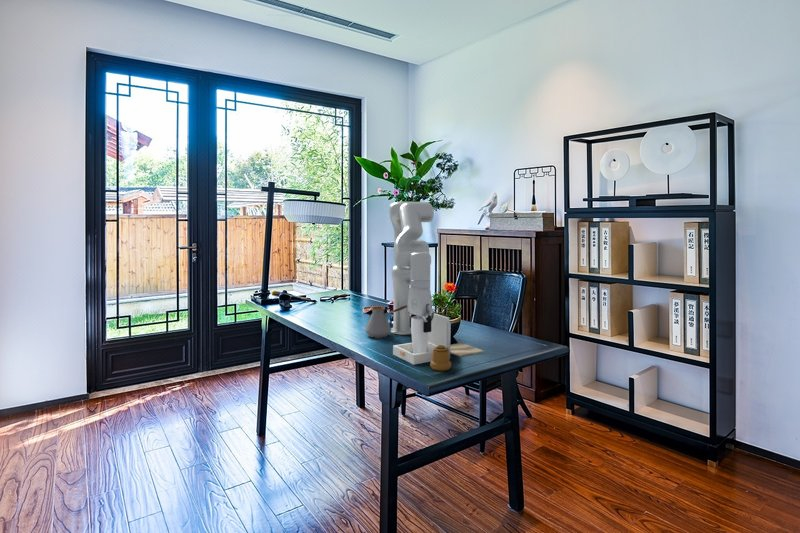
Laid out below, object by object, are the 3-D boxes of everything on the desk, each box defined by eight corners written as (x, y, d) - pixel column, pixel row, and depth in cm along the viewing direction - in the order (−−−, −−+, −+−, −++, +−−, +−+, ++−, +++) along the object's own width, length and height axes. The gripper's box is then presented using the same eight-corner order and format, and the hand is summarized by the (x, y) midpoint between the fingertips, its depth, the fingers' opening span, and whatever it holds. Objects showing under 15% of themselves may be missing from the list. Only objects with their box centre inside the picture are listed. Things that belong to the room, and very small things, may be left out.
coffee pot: (363, 339, 207) (363, 305, 206) (367, 332, 218) (367, 300, 217) (412, 340, 205) (412, 306, 204) (413, 333, 217) (413, 301, 215)
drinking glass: (418, 360, 176) (418, 320, 175) (407, 355, 182) (407, 317, 180) (432, 357, 180) (432, 318, 179) (421, 352, 186) (421, 315, 184)
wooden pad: (438, 348, 193) (438, 346, 193) (462, 344, 199) (462, 342, 199) (459, 356, 181) (459, 355, 181) (484, 352, 187) (484, 350, 187)
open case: (392, 354, 183) (392, 315, 182) (426, 348, 192) (427, 311, 190) (414, 365, 169) (414, 323, 168) (451, 359, 178) (451, 318, 176)
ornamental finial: (455, 368, 166) (439, 372, 162) (441, 363, 172) (425, 367, 168) (456, 346, 166) (439, 349, 161) (441, 342, 172) (425, 345, 167)
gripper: (400, 283, 184) (400, 326, 185) (424, 287, 169) (424, 335, 170) (416, 282, 187) (416, 324, 189) (441, 286, 173) (441, 332, 174)
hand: (420, 329), depth 179 cm, fingers open, 9 cm apart
